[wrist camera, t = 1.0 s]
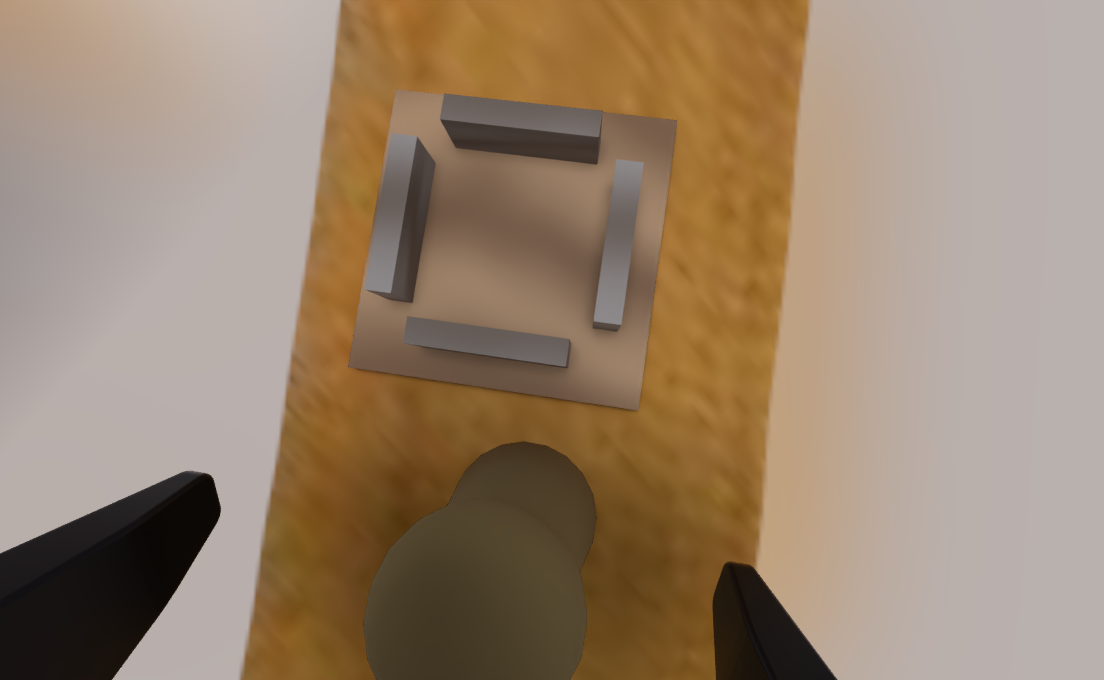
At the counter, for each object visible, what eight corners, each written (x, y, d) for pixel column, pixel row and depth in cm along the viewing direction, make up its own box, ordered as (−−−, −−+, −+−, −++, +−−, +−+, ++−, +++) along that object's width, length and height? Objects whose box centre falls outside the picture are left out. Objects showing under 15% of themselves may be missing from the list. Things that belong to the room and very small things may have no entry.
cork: (448, 589, 22) (312, 795, 11) (452, 440, 22) (325, 496, 11) (596, 594, 22) (607, 813, 11) (596, 442, 22) (608, 504, 11)
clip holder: (636, 409, 22) (645, 414, 19) (356, 367, 23) (317, 365, 20) (674, 129, 23) (689, 87, 20) (402, 99, 24) (372, 54, 20)
